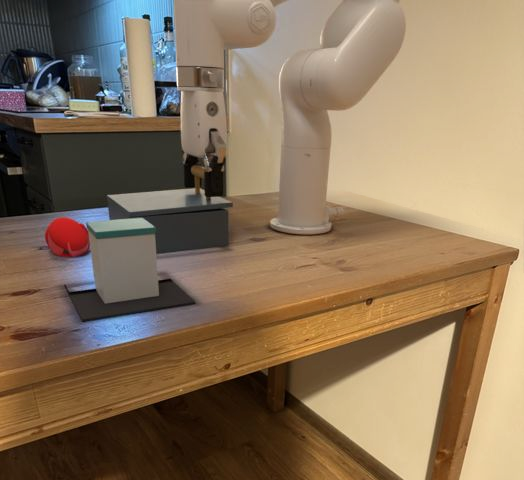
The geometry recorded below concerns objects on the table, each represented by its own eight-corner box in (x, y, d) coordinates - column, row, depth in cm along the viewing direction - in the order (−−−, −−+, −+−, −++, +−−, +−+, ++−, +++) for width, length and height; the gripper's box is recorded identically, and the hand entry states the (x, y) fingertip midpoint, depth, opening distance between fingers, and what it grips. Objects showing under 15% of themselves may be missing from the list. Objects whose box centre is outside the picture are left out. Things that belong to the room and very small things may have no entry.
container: (147, 282, 69) (142, 217, 65) (160, 296, 65) (155, 227, 61) (94, 289, 66) (85, 221, 62) (104, 304, 62) (95, 232, 58)
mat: (163, 273, 74) (163, 271, 74) (195, 303, 64) (195, 301, 64) (64, 286, 68) (64, 284, 68) (82, 321, 58) (82, 319, 58)
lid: (199, 192, 95) (198, 161, 92) (233, 207, 83) (232, 172, 81) (107, 199, 88) (102, 166, 85) (129, 217, 76) (125, 179, 73)
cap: (101, 257, 80) (96, 220, 77) (65, 265, 76) (59, 225, 73) (76, 247, 85) (71, 211, 82) (42, 253, 81) (35, 216, 78)
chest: (196, 230, 98) (195, 194, 95) (228, 250, 86) (228, 210, 83) (111, 238, 91) (107, 200, 88) (133, 260, 79) (129, 217, 76)
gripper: (245, 82, 75) (243, 199, 82) (202, 82, 88) (204, 183, 96) (198, 79, 71) (201, 201, 79) (161, 80, 85) (166, 185, 93)
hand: (203, 191), depth 88 cm, fingers open, 9 cm apart
